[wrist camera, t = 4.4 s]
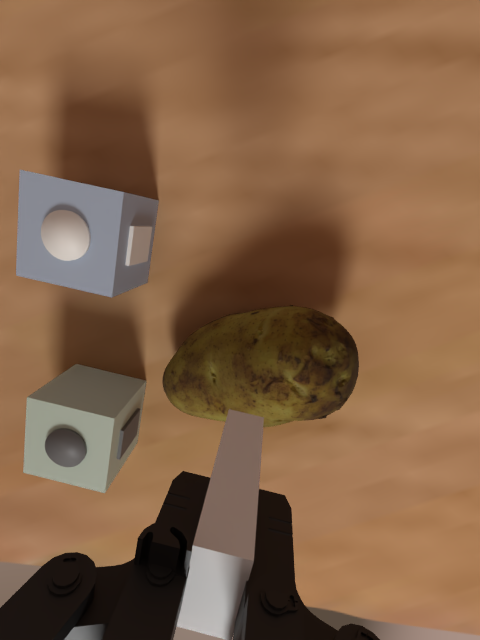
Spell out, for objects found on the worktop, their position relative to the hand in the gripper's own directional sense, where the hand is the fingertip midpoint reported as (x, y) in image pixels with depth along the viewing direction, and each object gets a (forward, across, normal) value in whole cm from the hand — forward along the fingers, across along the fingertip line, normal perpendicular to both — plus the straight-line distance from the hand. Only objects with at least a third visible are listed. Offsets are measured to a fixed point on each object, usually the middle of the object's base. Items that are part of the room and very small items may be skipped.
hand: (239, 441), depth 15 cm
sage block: (+13, +11, +8) cm, 19 cm away
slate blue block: (+13, +12, -6) cm, 18 cm away
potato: (+13, 0, 0) cm, 13 cm away
